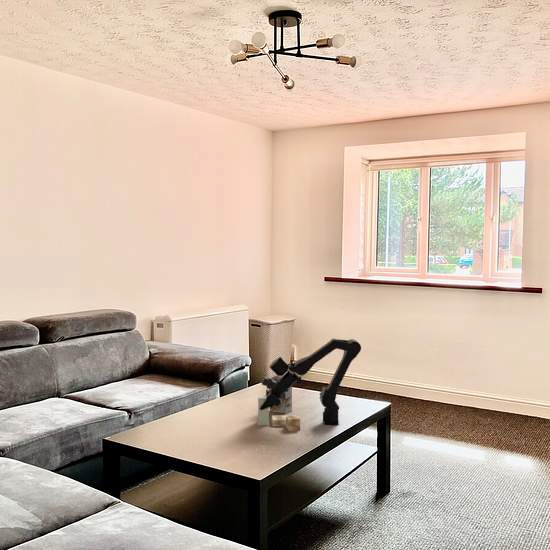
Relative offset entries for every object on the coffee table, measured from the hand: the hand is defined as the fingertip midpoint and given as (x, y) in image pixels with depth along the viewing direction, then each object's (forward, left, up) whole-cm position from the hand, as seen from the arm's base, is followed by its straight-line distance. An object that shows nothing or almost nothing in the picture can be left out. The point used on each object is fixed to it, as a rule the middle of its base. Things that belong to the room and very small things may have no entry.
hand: (260, 407), depth 263 cm
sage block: (-1, 0, -7) cm, 7 cm away
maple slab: (-9, -1, -7) cm, 12 cm away
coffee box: (-7, -21, -7) cm, 23 cm away
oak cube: (-15, +5, -7) cm, 17 cm away
